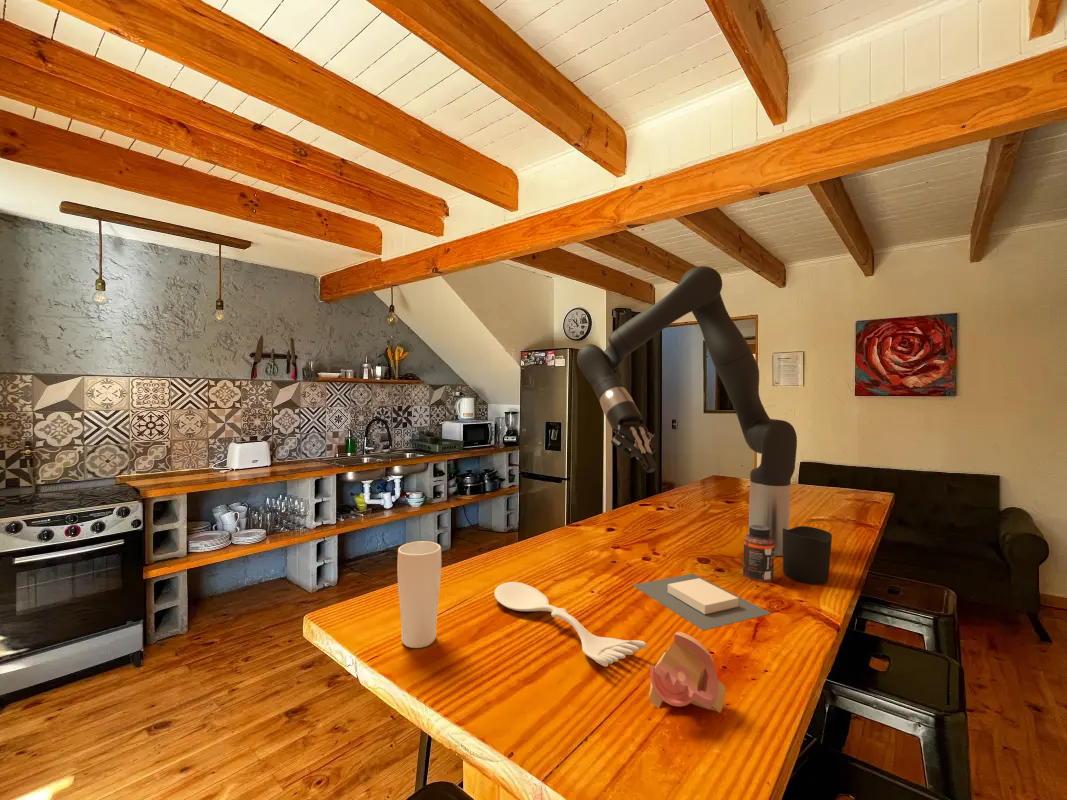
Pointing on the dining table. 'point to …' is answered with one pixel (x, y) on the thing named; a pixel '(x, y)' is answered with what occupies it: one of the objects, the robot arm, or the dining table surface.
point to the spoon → (592, 646)
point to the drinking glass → (419, 591)
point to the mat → (694, 616)
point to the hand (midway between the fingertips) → (652, 470)
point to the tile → (702, 595)
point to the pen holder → (806, 554)
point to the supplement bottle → (758, 554)
